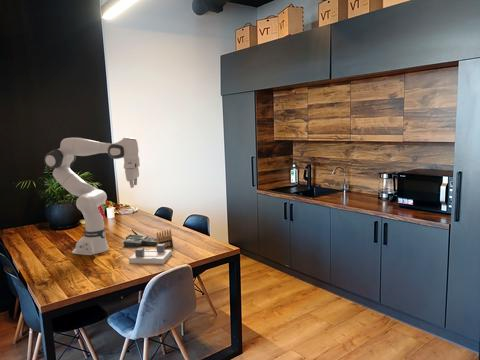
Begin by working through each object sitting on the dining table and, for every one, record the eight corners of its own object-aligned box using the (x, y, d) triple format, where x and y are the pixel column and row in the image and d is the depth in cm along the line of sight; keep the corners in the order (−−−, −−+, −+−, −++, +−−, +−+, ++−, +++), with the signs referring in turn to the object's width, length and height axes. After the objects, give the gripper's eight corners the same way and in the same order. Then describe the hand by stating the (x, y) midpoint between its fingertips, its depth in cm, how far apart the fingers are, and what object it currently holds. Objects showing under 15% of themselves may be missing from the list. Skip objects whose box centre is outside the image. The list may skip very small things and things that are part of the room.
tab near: (135, 256, 219) (135, 250, 219) (138, 254, 223) (137, 247, 222) (142, 256, 219) (141, 250, 218) (144, 254, 222) (144, 248, 222)
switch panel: (129, 262, 219) (128, 257, 218) (139, 253, 233) (139, 249, 233) (163, 263, 215) (163, 258, 215) (172, 254, 230) (171, 249, 230)
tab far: (156, 251, 225) (156, 245, 225) (159, 249, 229) (158, 243, 228) (163, 252, 225) (162, 245, 224) (165, 250, 228) (164, 243, 228)
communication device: (156, 248, 244) (155, 235, 242) (122, 247, 249) (121, 234, 247) (163, 242, 256) (162, 229, 254) (131, 241, 260) (130, 228, 259)
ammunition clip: (157, 250, 238) (156, 232, 236) (156, 249, 240) (155, 231, 238) (173, 246, 244) (171, 229, 242) (172, 246, 246) (170, 228, 244)
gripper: (130, 162, 236) (132, 183, 239) (122, 166, 216) (124, 189, 218) (140, 161, 237) (142, 183, 239) (133, 165, 217) (135, 189, 219)
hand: (133, 186), depth 229 cm, fingers open, 8 cm apart
